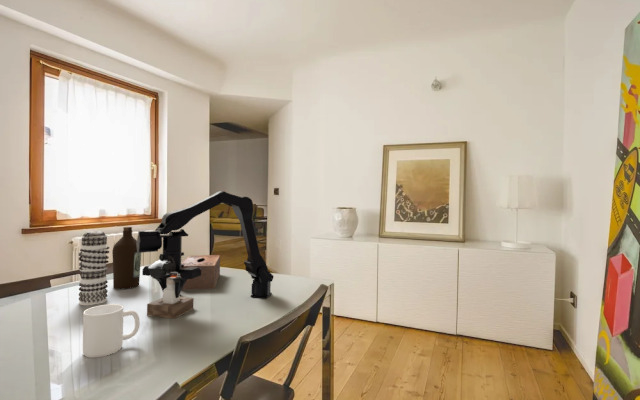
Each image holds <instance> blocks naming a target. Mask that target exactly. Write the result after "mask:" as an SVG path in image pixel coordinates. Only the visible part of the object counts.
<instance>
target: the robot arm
mask: <svg viewBox="0 0 640 400" xmlns="http://www.w3.org/2000/svg"><path fill="white" fill-rule="evenodd" d="M220 204H224V205H226V206H229V207H232V209H233V213H234V214H235V216H236V217H237V219H238V221H239V223H240V228H241V232H242V236H243V240H244V245H245V248H246V252H247V258H246V260H243V263H244V266H245V271H246V272H247V273H248V274H249V275H250V277H251V279H253V280H252V283H251V295H250V298H260V299H267V298H269V297H270V296H271V295H273V293H272V292H271V283H272V282H273V279H274V277H275V276H274V275H273V274H272V273H271V272H270V271H269V268H268V265H267V263H266V261H265V259H264V258H263V256H262V255H261V251H260V248H259V243H258V239H257V235H256V231H255V225H254V222H253V215H254V202H253V200H252V198H250V197H249V196H238V195H235V194H231V193H228V192H227V191H224V190H222V191H221V190H219V191H217V192H215V193H213V194H212V195H210V196H208V197H206V198H203V199H201V200H200V201H198V202H196V203H193V204H191V205H189V206H187V207H183V208H180V209H175V210H173V211H169V212H167V213H165V214H163V216H162V217H161V223H159V225H158V226H157V228H156V229H155V230H147V231H145V230H138V233H137V239H136V240H137V241H136V246H137V252H138V253H141V254H142V253H152V252H159V250H160V249H161V248H162V253H159V258H158V260H156V261H154V262H153V263H152V264H148V265H144V266H143V268H142V276H149V277H150V278H152V279H155V281H157V282H158V283H159V285H160V288H161V291H162V292H163V290H164V289H165V288H167V278H170V277H171V274H177V278H174V279H173V280H174V282H175V296H176V298H178V297H179V295H180V296H181V293H182V291H183V290H182V288H183V286H184V284H185V283H186V281H187V279H193V278H196V277H198V276H201V269H200V268H199V267H188V268H185V269H181V268H183V267H184V264H181V263H182V256H185V252H184V251H183V250H182V248H183V247H182V246H183V245H182V243H183V242H182V240H183V237H188V236H189V234H188V233H187V232H186V231H185V229H184V227H185V226H186V225H188V223H189V222H190V221H191V220H193V219H194V218H196V217H197V216H199V215H201V214H204V213H205V212H208V211H209V210H211V209H213V208H215V207H217V206H219V205H220ZM174 271H176V272H174Z"/></svg>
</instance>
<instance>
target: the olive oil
mask: <svg viewBox="0 0 640 400" xmlns="http://www.w3.org/2000/svg"><path fill="white" fill-rule="evenodd" d="M122 229H123V230H122V237H121V238H119V239H118V241H116V242H115V243H114V245H113V247H112V272H113V273H112V280H113V284H112V285H113V286H112V287H113V289H116V290H129V289H134V288H136V287H138V286H139V285H140V278H141V277H140V276H141V265H142V264H141V262H142V253H138V252H137V246H136V241H137V239H136V238H135V237H133V227H132V226H124V227H123V228H122Z"/></svg>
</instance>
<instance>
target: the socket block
mask: <svg viewBox="0 0 640 400" xmlns="http://www.w3.org/2000/svg"><path fill="white" fill-rule="evenodd" d="M194 300H195V299H194V297H187V296H180V301H179V302H177V303H174V304H166V303H163V297H161V298H159V299H156V300H153V301H151V302H149V303H147V304H146V316H149V317H150V316H151V317H156V316H157V317H158V318H166V319H172V318H173V319H177V318H178V317H181V316H182V315H184V314H186V313H188V312H189V311H192V310H194ZM157 317H156V318H157Z"/></svg>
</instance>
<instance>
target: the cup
mask: <svg viewBox="0 0 640 400" xmlns="http://www.w3.org/2000/svg"><path fill="white" fill-rule="evenodd" d="M128 316H132V317H133V319H134V329H133V330H132V331H131V332H128V333H127V334H124V318H126V317H128ZM82 317H83V318H82V319H83V320H82V354H83V356H85V357H87V358H89V359H90V358H91V359H94V358H95V359H96V358H103V357H107V355H108V356H110V354H111V355H113V354H115V353H117V352H118V350H119V351H120V350H121V349H122V347H123V342H124V341H126V340H130V339H131V338H133V337H134V336H136V335H137V333H138V332H139V330H140V325H141V324H140V317H139V314H138V313H137V311H135V310H124V306H123V305H122V304H116V303H115V304H114V303H111V304H109V303H107V304H101V305H100V304H99V305H95V306H93V307H89V308H87V309H85V310H84V311H83V315H82ZM112 353H113V354H112Z"/></svg>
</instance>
